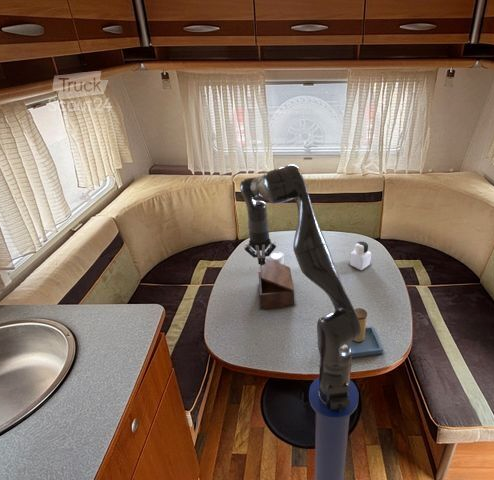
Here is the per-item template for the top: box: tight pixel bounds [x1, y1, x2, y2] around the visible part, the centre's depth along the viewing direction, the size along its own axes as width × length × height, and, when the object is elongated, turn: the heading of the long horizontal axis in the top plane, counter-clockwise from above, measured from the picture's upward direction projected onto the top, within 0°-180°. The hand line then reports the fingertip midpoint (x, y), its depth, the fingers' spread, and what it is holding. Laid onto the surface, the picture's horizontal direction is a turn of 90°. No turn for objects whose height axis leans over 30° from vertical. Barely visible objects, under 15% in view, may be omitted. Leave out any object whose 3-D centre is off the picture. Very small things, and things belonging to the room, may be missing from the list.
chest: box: [258, 271, 295, 310], centre depth 153 cm, size 14×16×7 cm
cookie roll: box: [352, 307, 368, 343], centre depth 129 cm, size 5×5×12 cm
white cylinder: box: [268, 251, 285, 265], centre depth 170 cm, size 7×7×7 cm
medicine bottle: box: [349, 240, 372, 271], centre depth 170 cm, size 7×7×12 cm
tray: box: [347, 325, 384, 358], centre depth 130 cm, size 12×16×2 cm
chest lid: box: [259, 256, 295, 292], centre depth 149 cm, size 15×16×1 cm
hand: (261, 264), depth 145 cm, fingers closed
